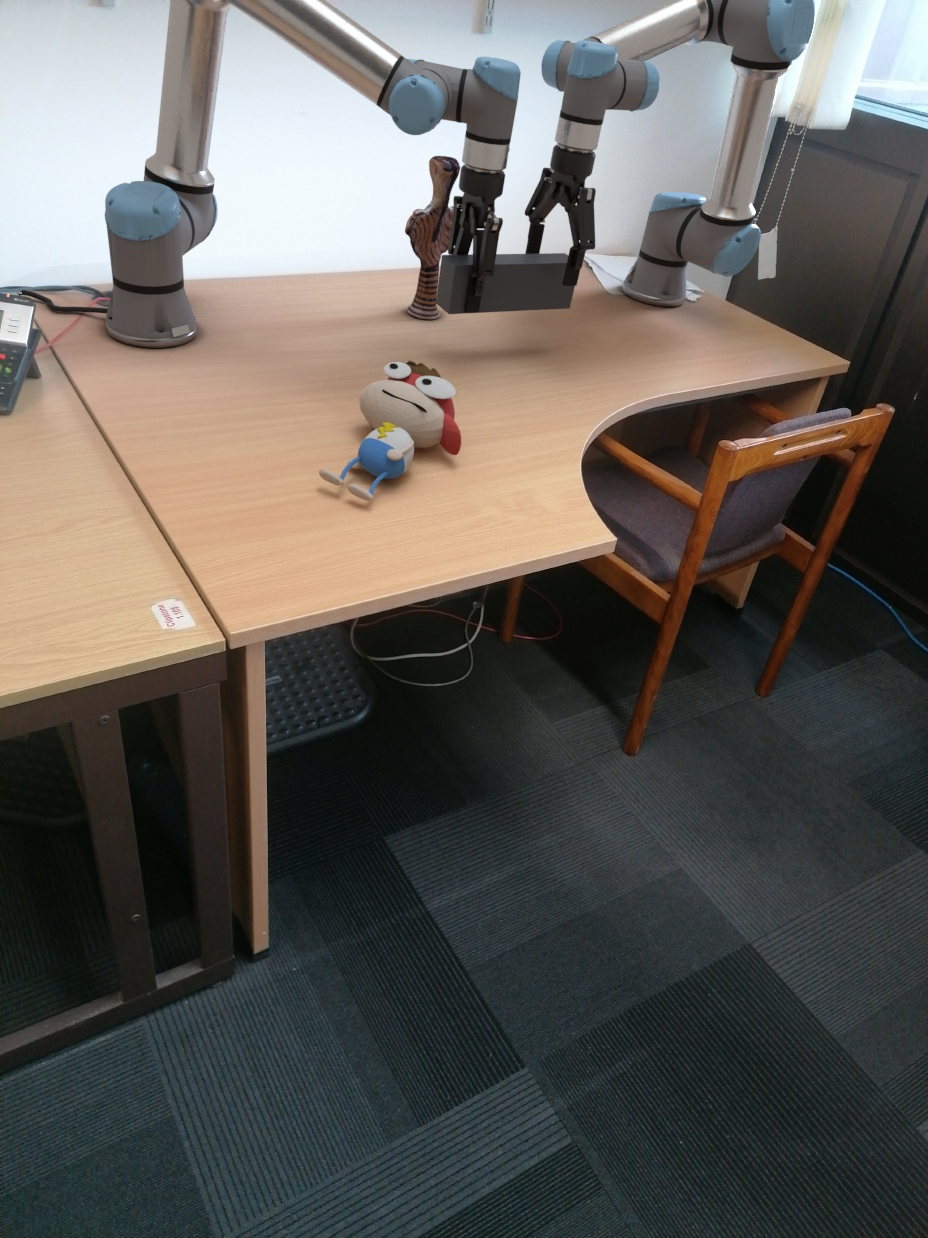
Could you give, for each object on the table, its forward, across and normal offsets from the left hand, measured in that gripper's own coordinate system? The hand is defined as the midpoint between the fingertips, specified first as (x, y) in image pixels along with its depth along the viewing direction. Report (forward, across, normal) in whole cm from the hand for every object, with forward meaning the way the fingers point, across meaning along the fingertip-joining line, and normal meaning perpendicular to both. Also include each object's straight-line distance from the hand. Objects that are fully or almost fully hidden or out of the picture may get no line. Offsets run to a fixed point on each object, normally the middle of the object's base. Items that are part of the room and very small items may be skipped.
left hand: (463, 305), depth 162 cm
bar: (0, 0, -9) cm, 9 cm away
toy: (+10, -32, +28) cm, 44 cm away
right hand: (-6, 0, -18) cm, 18 cm away
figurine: (+10, +21, -4) cm, 23 cm away
